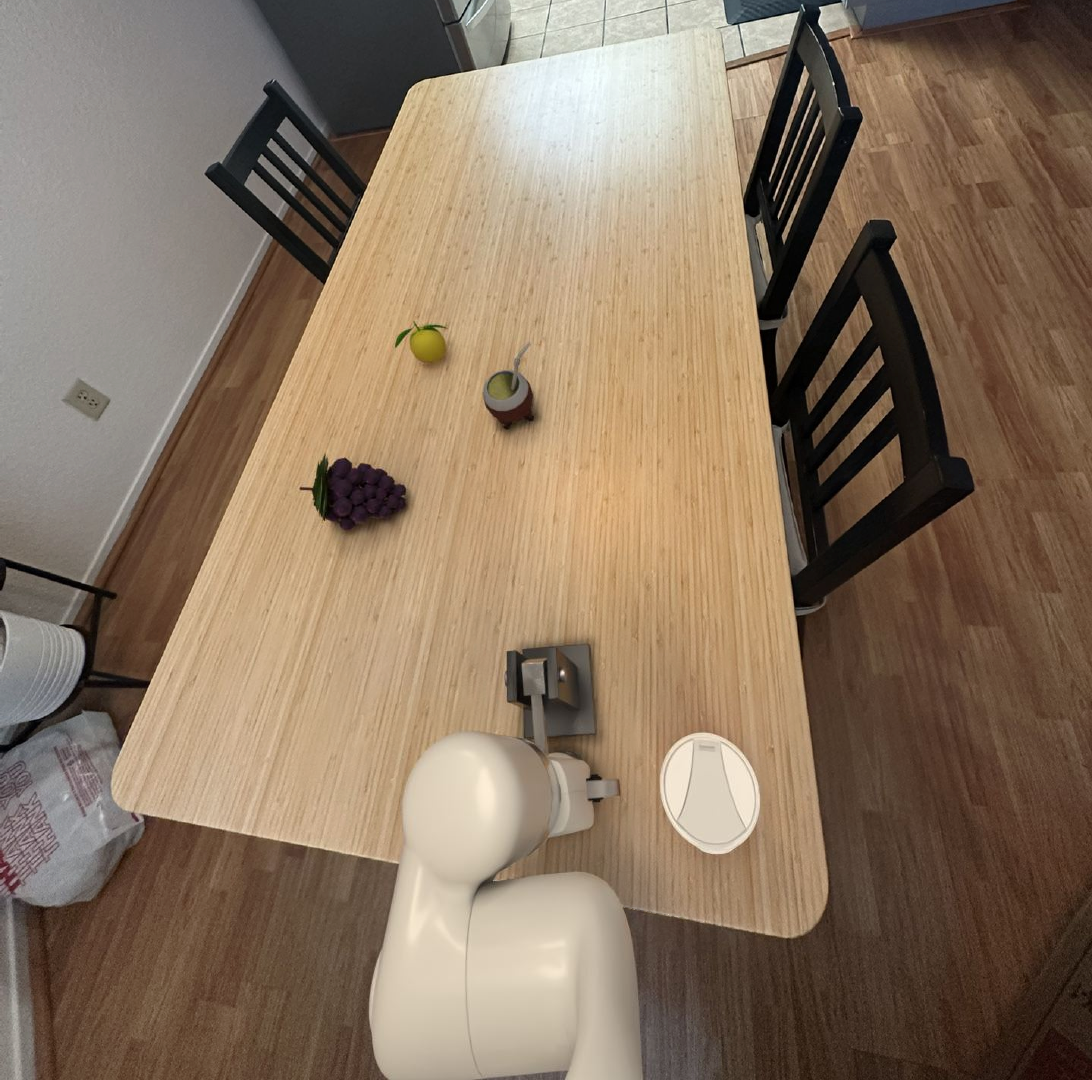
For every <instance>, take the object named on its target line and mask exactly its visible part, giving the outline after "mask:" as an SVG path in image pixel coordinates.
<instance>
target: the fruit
mask: <svg viewBox="0 0 1092 1080" xmlns="http://www.w3.org/2000/svg"><path fill="white" fill-rule="evenodd" d="M326 454H327V453H326V452H325V453H324V454H323V457H322V459H321V460H320V461H319V460H318V461H317V462H318V463H317V465H316V466H317V467H316V471H315V478H314V482H313V486H312V487H307V486H300V487H299V491H309V492H311V494H312V501H313V507H315V509H316V512H317V513H318V517H319V518H322V519H321V522H326V520H327V521H329V522H331V523H337V524H338V526H339V528H340V529H341V530H342V531H347V532H348V531H352V530H353V529H355V527H356V525H357V524H362V523H363V524H365V522H366V521H368V519H370V518H375V519H386V518H390V517H392V516H394V515H396V511H398V512H400V511H402V510H403V509H405V508H407V498H406V497H404V496H406V495H407V488H406V485H405V484H402V483H397V484H396V483H395V481H396V480H395V479H394V478H393V476H391V475H389V474H388V472H387V471H386V470H385V469H383V468H378V467H377V468H374V467H372V465H371V464H370V463H365V462H360V463H359V464H358V465H357V467H353V462H351V461H350V460H349V459H348V458H347V457H341V458H337V459H336V460H335V461H334V462H333V463H332V464H331V465H330V466H329V462H330V461H329V459H328V454H327V455H326Z"/></svg>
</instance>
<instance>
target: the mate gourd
mask: <svg viewBox="0 0 1092 1080" xmlns="http://www.w3.org/2000/svg"><path fill="white" fill-rule="evenodd" d="M530 346H531V342H530V341H528V342H527V343H526V344H525V345H523V347H522V348H521V350H520V351H519V352H518V353H517V355H516V357H514V360H513V369H503V370H499V371H496V372H494V373H493V374H492V375H491V376H489V377H488V379H487V380H486V382H485V384H484V386H483V389H482V397H483V398H482V399H483V402H484V405H485V408H486V410H487V411H488V412H489V413H490V414H491V415H492V417H493V418H495V419H496V420H497V421H498V422H499V423H500V424H501V425H503V426H502V428H503V429H505V430H506V431H508V430H509V429H510V428H511V426H512V425H513V424H514V422H516V421H519V420H521V419H524V420H527V421H529V422H533V421H534V420H535V416H534V415H533V410H532V407H533V400H534V394H533V390H532V386H531V383H530V381H529V380H528V379H527V378H526V377H525V376H524V375H523V374H522V372H518V370H519V366H520V364H521V358H522V356H523V355H524V354H525V353H526V351H527V350H528V349H529V347H530Z"/></svg>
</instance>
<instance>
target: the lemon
mask: <svg viewBox="0 0 1092 1080" xmlns="http://www.w3.org/2000/svg"><path fill="white" fill-rule="evenodd" d="M412 323H413V324H414V325H413V326H412V327H410V328H408V329H405V330H403V331H402V332H400V333H399V334H398V335H397V337H396V339H395V342H394V349H396V348H397V347H399V346H400V344H401V343H402V341H403V340H404V338H405V337H406V336H407V335H408V334H409V333H410V332H411V331H412V330H413V331H412V332H411V334H410V336H409V347H410V351H411V353H412V354H413V356H414V357H415V359H417V360H418V361H419V362H421V363H425V364H431V363H436V362H439V361H440V360H441V359H442V358H443V357H444V355H445V353H446V351H447V350H446V349H447V344H446V339H445V337H444V336H443V334H442V332H440V331H439V330H438V328H439V329H447V330H448V329H449V328H448V327H446V326H444V325H441V324H424V325H419V326H418V325H417V323H416V321H415V320H413V322H412Z"/></svg>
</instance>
